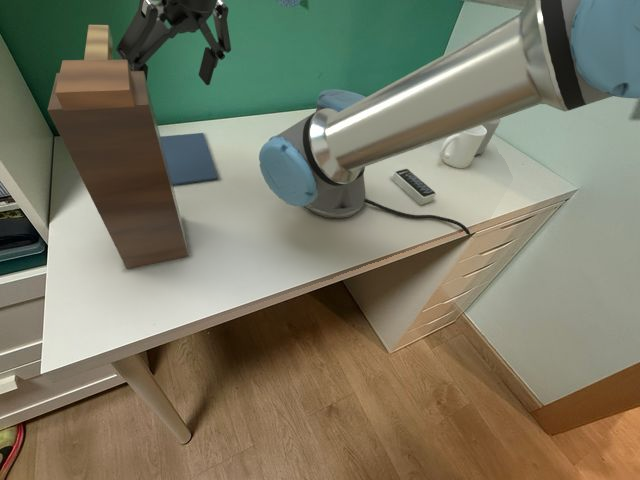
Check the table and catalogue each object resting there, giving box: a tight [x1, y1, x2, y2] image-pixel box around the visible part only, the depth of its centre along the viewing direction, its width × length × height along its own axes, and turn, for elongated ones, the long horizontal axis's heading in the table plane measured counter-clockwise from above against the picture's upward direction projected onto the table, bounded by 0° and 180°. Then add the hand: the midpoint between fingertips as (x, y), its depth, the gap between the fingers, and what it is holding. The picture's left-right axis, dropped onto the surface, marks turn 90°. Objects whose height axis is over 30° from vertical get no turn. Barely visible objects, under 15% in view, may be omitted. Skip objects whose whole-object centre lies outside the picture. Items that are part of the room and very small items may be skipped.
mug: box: [439, 125, 487, 169], centre depth 89 cm, size 12×8×10 cm
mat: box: [160, 132, 219, 187], centre depth 78 cm, size 20×12×1 cm, turn 23°
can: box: [475, 118, 501, 156], centre depth 95 cm, size 8×8×12 cm
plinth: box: [47, 71, 190, 270], centre depth 50 cm, size 10×10×28 cm
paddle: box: [55, 24, 135, 111], centre depth 43 cm, size 23×7×2 cm, turn 23°
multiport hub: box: [391, 168, 437, 206], centre depth 80 cm, size 4×11×2 cm, turn 31°
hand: (173, 85), depth 62 cm, fingers open, 13 cm apart
